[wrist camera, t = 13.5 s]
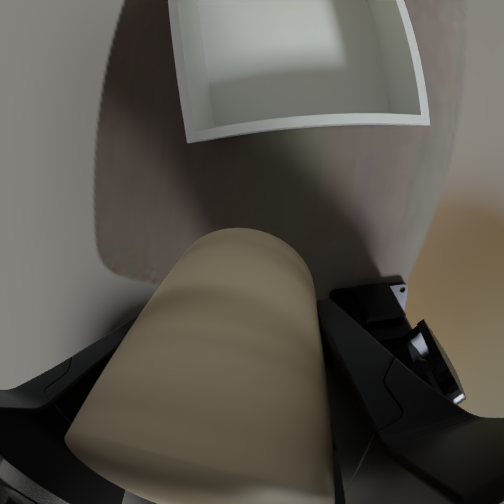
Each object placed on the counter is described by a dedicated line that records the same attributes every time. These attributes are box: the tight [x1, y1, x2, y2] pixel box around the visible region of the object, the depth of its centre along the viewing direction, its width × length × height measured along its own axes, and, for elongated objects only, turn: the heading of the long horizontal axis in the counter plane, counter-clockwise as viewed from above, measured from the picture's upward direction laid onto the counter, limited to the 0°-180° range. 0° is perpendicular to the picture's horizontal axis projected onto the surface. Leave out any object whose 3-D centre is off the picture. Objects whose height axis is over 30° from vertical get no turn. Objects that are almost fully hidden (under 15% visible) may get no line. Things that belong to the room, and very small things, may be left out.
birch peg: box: [64, 228, 335, 504], centre depth 7 cm, size 5×5×7 cm
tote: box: [168, 0, 430, 143], centre depth 11 cm, size 16×12×5 cm
